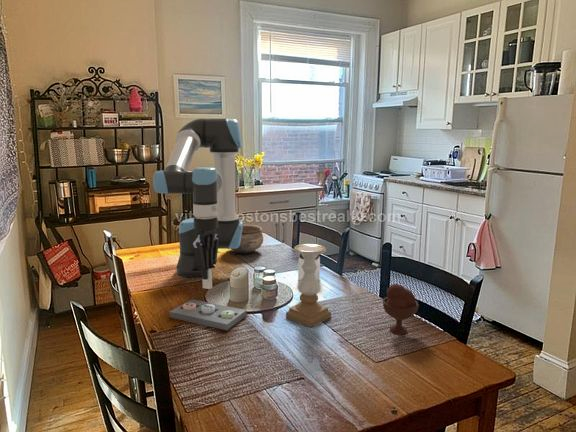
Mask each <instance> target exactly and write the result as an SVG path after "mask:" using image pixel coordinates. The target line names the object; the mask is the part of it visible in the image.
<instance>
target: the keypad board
mask: <svg viewBox="0 0 576 432" xmlns="http://www.w3.org/2000/svg"><path fill="white" fill-rule="evenodd" d="M185 303H196V308H195V309H194V310H192V311H189V310H184V309H183V304H185ZM205 304H213V305H215V312H214V313H213V314H211V315H207V314H203V313H202V311H201V307H202V306H203V305H205ZM226 310H231V311H234V313H235V316H234V317H233V318H232V319H226V318H221V312H222V311H226ZM246 317H247V310H246V309H241V308H238V307H232V306H229V305H228V306H227V305H223V304H217V303H213V302H209V301H208V302H207V301H204V300H199V299H198V300H196V299H193V298H192V299H190V300H188V301H186V302H184V303H181V305H179V306H177V307H176V308H173V309H172V310H170V311H169V318H172V319H175V320H180V321H185V322H189V323H192V324H193V323H194V324H197V325H202V326H206V327H211V328H214V329H219V330H224V331H228V330H230V329H231V328H232V327H234V326H235V325H236V324H238V323H239V322H240V321H242V320H243V319H244V318H246Z"/></svg>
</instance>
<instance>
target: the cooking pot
mask: <svg viewBox="0 0 576 432" xmlns="http://www.w3.org/2000/svg"><path fill="white" fill-rule="evenodd" d="M262 230H263V228H262V227H261V226H259V225H255V224H243V229H242V236H241V242H240V246H239V247H238V248H234V249H231V250H232V251H233V252H236V253H238V254H240V255H249V254H251V253H253V252H255V251H256V250H258V249H259V248H260V247H261V246H262V245H263V242H264V235H263V233H262Z"/></svg>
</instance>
